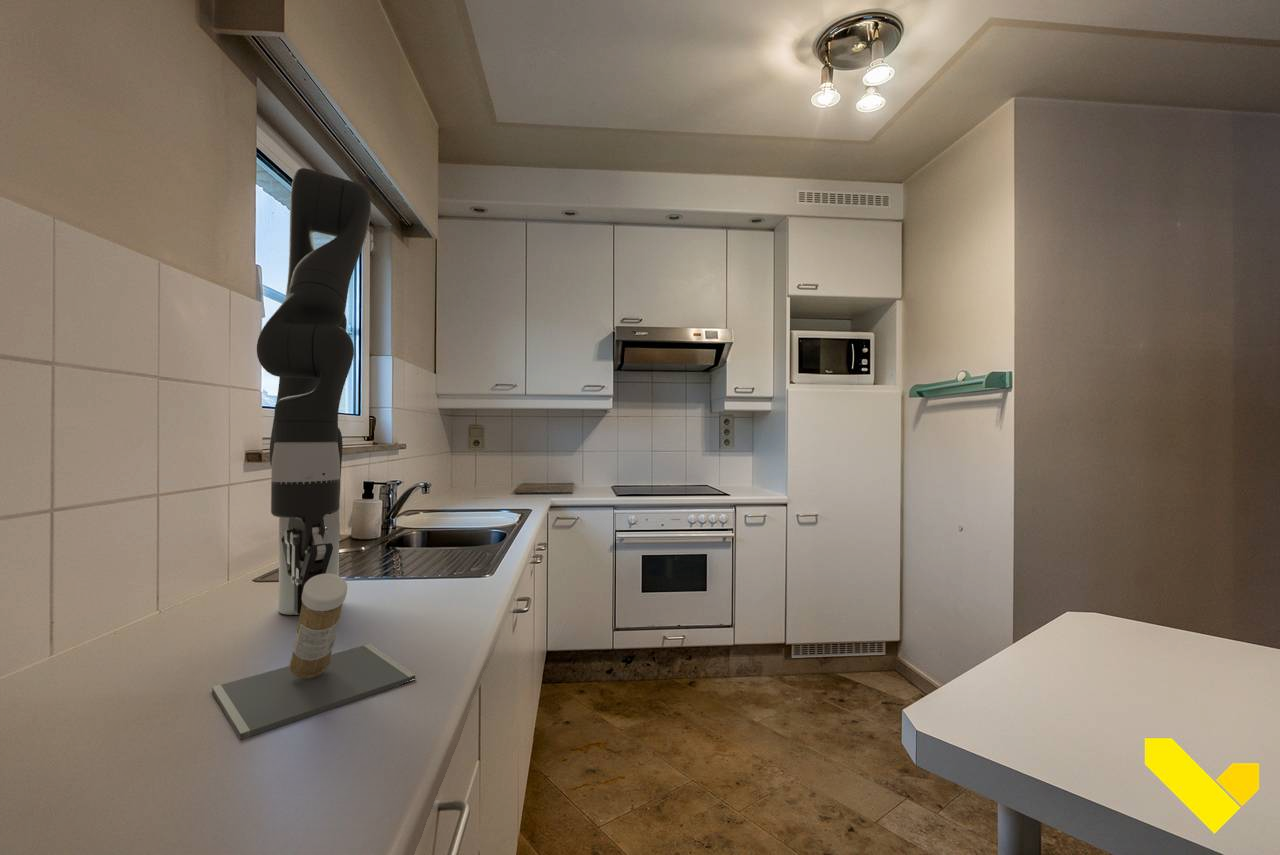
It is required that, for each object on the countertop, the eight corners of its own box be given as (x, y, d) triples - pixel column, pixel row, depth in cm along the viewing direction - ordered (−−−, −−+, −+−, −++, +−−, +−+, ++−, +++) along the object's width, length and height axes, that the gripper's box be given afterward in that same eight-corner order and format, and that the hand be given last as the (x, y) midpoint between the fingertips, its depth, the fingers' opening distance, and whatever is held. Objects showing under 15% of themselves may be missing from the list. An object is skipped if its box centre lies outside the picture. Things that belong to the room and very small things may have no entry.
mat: (212, 692, 64) (212, 686, 64) (368, 648, 77) (369, 643, 77) (240, 739, 54) (240, 733, 54) (415, 680, 67) (415, 674, 67)
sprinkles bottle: (304, 645, 70) (320, 566, 65) (337, 657, 70) (356, 580, 65) (279, 673, 65) (294, 590, 61) (315, 685, 66) (333, 604, 61)
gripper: (356, 478, 67) (355, 616, 67) (322, 473, 76) (321, 595, 76) (287, 481, 62) (286, 632, 61) (258, 476, 71) (257, 608, 70)
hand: (305, 611), depth 69 cm, fingers closed
